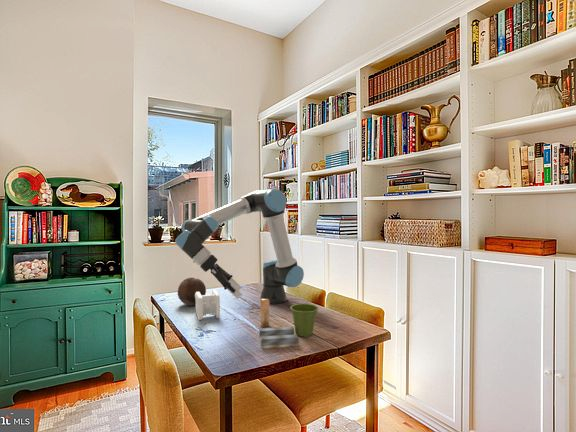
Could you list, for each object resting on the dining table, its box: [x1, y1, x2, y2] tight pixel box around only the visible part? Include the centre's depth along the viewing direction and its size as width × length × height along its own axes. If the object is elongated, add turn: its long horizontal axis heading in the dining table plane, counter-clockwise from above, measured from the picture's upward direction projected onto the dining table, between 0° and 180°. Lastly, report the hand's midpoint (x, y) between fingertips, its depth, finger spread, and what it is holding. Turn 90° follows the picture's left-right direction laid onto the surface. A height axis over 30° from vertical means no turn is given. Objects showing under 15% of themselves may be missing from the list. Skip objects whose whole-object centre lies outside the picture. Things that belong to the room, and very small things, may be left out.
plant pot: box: [289, 303, 319, 338], centre depth 146 cm, size 12×12×11 cm
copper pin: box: [259, 298, 270, 328], centre depth 156 cm, size 4×4×12 cm
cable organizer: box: [195, 289, 221, 321], centre depth 171 cm, size 15×11×12 cm
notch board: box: [258, 326, 299, 350], centre depth 138 cm, size 14×12×4 cm
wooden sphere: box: [177, 277, 207, 306], centre depth 191 cm, size 15×15×15 cm
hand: (240, 293), depth 155 cm, fingers open, 13 cm apart
